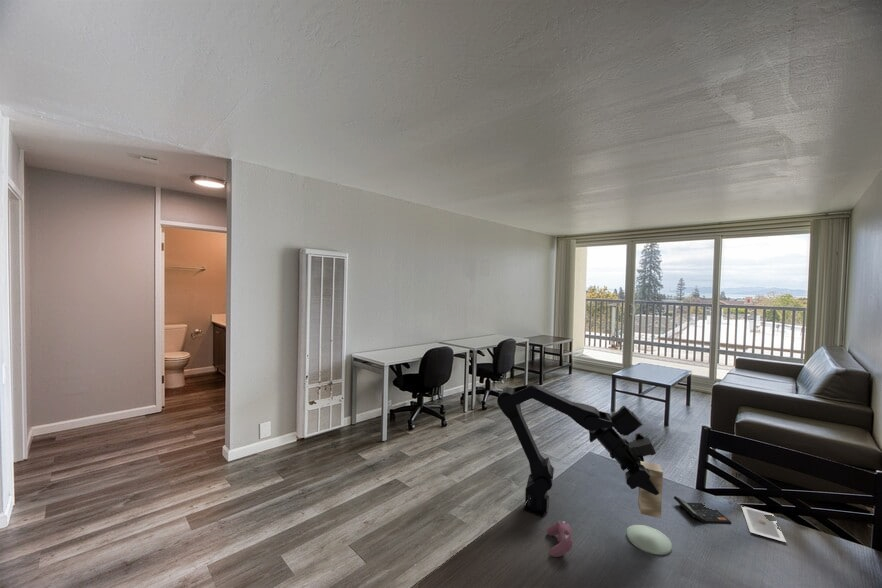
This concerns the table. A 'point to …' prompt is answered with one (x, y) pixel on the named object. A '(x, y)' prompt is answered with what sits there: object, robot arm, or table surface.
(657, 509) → the maple block
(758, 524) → the touchpad
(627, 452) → the robot arm
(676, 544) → the table surface
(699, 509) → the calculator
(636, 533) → the sage mat
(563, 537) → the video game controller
